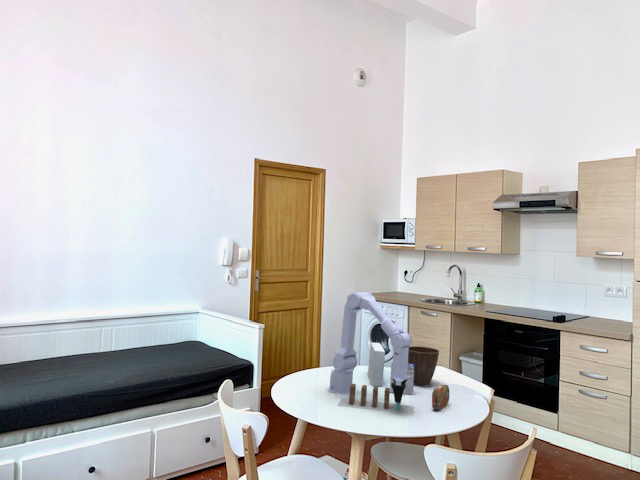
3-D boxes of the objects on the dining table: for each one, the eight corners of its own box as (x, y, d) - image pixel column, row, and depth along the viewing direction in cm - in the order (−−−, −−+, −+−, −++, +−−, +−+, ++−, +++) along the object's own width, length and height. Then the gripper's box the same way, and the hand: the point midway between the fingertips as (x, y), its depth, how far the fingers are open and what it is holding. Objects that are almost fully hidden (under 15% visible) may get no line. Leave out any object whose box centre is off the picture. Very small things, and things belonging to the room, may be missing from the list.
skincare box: (383, 387, 220) (385, 351, 221) (371, 386, 220) (373, 350, 221) (378, 374, 241) (380, 342, 242) (367, 374, 242) (369, 341, 242)
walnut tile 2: (360, 405, 191) (361, 387, 191) (362, 402, 195) (362, 384, 195) (364, 406, 191) (365, 388, 191) (366, 403, 195) (366, 385, 195)
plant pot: (399, 379, 234) (401, 346, 234) (428, 379, 237) (430, 346, 237) (412, 389, 219) (414, 353, 219) (443, 388, 223) (445, 353, 223)
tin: (437, 413, 188) (438, 391, 188) (429, 411, 190) (430, 389, 190) (449, 403, 201) (450, 383, 201) (442, 402, 203) (443, 381, 203)
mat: (337, 406, 190) (337, 405, 190) (341, 398, 200) (341, 397, 200) (413, 415, 184) (413, 414, 184) (414, 407, 194) (414, 406, 194)
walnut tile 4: (383, 408, 189) (384, 390, 189) (384, 405, 193) (385, 387, 193) (387, 409, 189) (388, 391, 189) (388, 405, 193) (389, 387, 193)
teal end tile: (395, 410, 188) (396, 391, 188) (396, 406, 192) (397, 388, 192) (399, 410, 188) (400, 392, 188) (400, 407, 192) (401, 389, 192)
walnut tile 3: (372, 407, 190) (372, 389, 190) (373, 403, 194) (374, 386, 194) (376, 407, 190) (377, 389, 190) (377, 404, 194) (378, 386, 194)
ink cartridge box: (413, 391, 215) (414, 358, 215) (412, 395, 210) (414, 361, 210) (390, 389, 217) (392, 356, 217) (389, 392, 212) (391, 359, 212)
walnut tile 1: (349, 404, 192) (349, 386, 192) (350, 401, 196) (351, 383, 196) (353, 405, 192) (354, 387, 192) (354, 401, 196) (355, 384, 196)
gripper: (409, 369, 182) (408, 406, 182) (411, 361, 196) (409, 395, 196) (390, 367, 184) (389, 404, 184) (393, 359, 198) (391, 393, 198)
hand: (398, 399), depth 190 cm, fingers open, 7 cm apart
